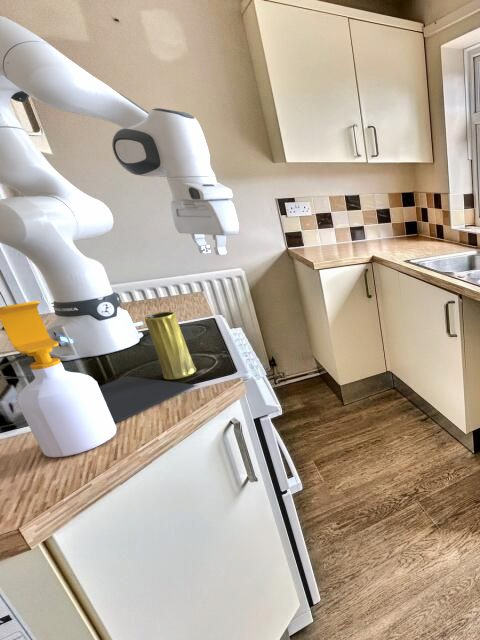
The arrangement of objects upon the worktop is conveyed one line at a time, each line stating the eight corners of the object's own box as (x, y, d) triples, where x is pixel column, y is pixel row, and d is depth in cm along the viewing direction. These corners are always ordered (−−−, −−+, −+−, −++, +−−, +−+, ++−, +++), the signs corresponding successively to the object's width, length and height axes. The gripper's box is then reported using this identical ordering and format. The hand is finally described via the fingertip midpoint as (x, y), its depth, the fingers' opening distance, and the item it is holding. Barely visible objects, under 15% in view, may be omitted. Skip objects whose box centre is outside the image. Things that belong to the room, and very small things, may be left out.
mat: (43, 410, 82) (42, 408, 82) (126, 377, 95) (125, 375, 95) (117, 422, 77) (116, 421, 77) (194, 386, 90) (193, 384, 90)
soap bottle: (53, 465, 65) (-24, 314, 57) (37, 448, 70) (-37, 306, 61) (125, 436, 72) (67, 298, 64) (106, 422, 77) (49, 292, 68)
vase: (160, 382, 92) (138, 321, 87) (167, 372, 97) (146, 313, 92) (194, 376, 95) (174, 316, 90) (198, 366, 100) (179, 309, 95)
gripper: (156, 192, 96) (175, 253, 101) (205, 191, 86) (224, 258, 91) (186, 191, 101) (203, 249, 106) (236, 190, 92) (252, 254, 97)
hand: (213, 253), depth 99 cm, fingers open, 5 cm apart
